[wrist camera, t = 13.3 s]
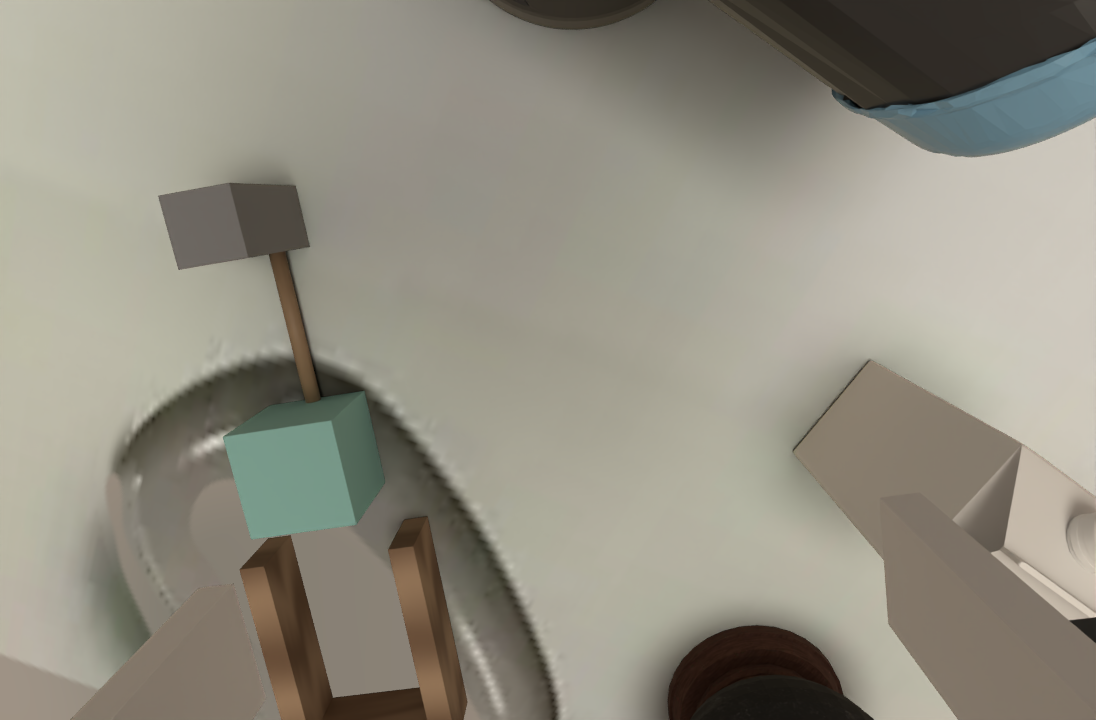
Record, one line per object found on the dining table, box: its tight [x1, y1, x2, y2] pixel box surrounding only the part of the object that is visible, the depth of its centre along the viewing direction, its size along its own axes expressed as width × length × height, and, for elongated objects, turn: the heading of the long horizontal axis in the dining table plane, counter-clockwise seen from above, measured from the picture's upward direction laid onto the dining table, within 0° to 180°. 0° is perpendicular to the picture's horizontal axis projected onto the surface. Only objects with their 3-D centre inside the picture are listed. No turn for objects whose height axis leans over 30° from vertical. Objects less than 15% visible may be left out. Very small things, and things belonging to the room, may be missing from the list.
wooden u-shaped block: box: [240, 517, 467, 720], centre depth 45 cm, size 14×10×5 cm
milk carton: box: [793, 361, 1096, 620], centre depth 34 cm, size 7×7×19 cm
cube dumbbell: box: [158, 183, 385, 539], centre depth 39 cm, size 18×6×8 cm, turn 9°
